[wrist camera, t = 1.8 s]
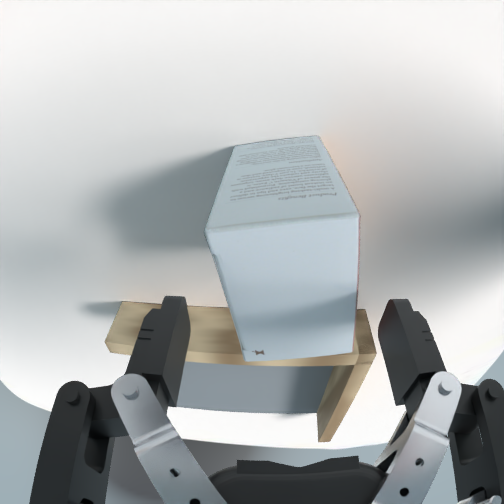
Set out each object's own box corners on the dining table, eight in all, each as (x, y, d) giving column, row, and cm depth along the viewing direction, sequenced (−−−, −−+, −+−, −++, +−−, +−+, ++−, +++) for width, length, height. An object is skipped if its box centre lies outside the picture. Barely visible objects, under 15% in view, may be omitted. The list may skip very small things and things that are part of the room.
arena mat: (346, 320, 28) (347, 324, 28) (316, 410, 40) (316, 412, 39) (126, 312, 29) (125, 315, 29) (166, 402, 40) (165, 405, 40)
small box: (328, 238, 23) (354, 356, 15) (253, 246, 24) (243, 366, 16) (320, 132, 19) (365, 214, 10) (232, 143, 19) (201, 232, 11)
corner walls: (365, 309, 27) (376, 353, 23) (327, 409, 39) (329, 441, 35) (122, 301, 28) (104, 341, 24) (166, 402, 40) (159, 433, 36)
